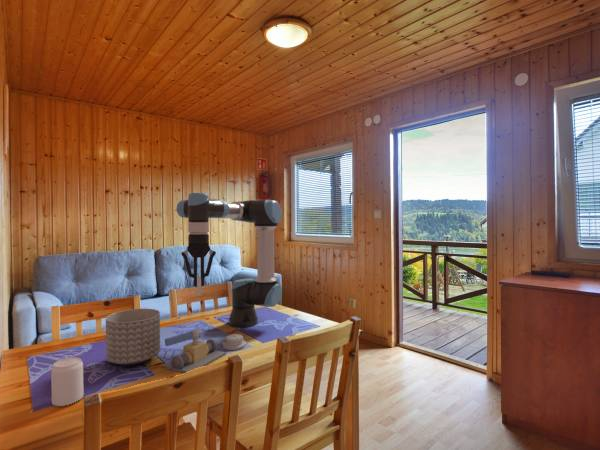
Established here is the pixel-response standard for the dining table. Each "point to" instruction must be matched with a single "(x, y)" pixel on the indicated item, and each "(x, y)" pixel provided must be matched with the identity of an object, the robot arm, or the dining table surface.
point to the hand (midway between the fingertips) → (199, 294)
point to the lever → (182, 337)
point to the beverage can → (67, 381)
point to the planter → (132, 336)
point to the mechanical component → (234, 342)
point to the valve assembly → (195, 356)
